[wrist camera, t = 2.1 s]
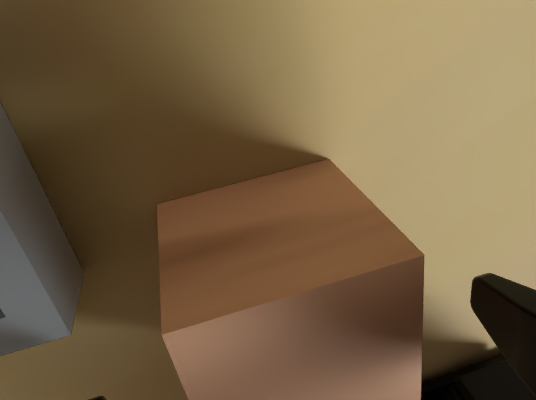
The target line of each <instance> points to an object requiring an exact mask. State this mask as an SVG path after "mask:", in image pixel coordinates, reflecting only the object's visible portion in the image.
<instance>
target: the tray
mask: <svg viewBox="0 0 536 400" xmlns="http://www.w3.org/2000/svg"><path fill="white" fill-rule="evenodd" d="M83 277H84V272H83V270H82V268H81V265H80V263H79V261H78V259H77V257H76V255H75V253H74V251H73V249H72V247H71V245H70V243H69V241H68V239H67V237H66V235H65V233H64V231H63V229H62V227H61V225H60V223H59V220H58V218H57V216H56V214H55V212H54V210H53V208H52V206H51V204H50V202H49V200H48V198H47V196H46V194H45V192H44V190H43V188H42V186H41V184H40V182H39V180H38V178H37V175H36V173H35V171H34V169H33V167H32V165H31V163H30V161H29V159H28V157H27V155H26V153H25V151H24V149H23V147H22V145H21V143H20V141H19V139H18V137H17V135H16V133H15V130H14V128H13V126H12V124H11V122H10V120H9V118H8V116H7V114H6V112H5V110H4V108H3V106H2V104H1V102H0V356H2V355H6V354H9V353H13V352H16V351H19V350H23V349H26V348H29V347H33V346H36V345H40V344H43V343H46V342H50V341H53V340H56V339H60V338H63V337H67V336H70V335H71V332H72V328H73V323H74V319H75V314H76V309H77V305H78V300H79V296H80V291H81V287H82V282H83Z"/></svg>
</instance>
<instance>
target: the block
mask: <svg viewBox="0 0 536 400" xmlns="http://www.w3.org/2000/svg"><path fill="white" fill-rule="evenodd" d="M157 221H158V250H159V279H160V307H161V335H162V337H163V340H164V342H165V345H166V347H167V350H168V352H169V354H170V357H171V359H172V362H173V364H174V367H175V369H176V371H177V374H178V376H179V379H180V381H181V384H182V386H183V388H184V391H185V393H186V396H187V398H188V400H421V371H422V329H423V287H424V254H423V253H422V252H421V251H420V250H419V249H418V248H417V247H416V246H415V245H414V244H413V243H412V242H411V241H410V240H409V239H408V238H407V237H406V236H405V235H404V234H403V233H402V232H401V231H400V230H399V229H398V228H397V227H396V226H395V225H394V224H393V223H392V222H391V221H390V220H389V219H388V218H387V217H386V216H385V215H384V214H383V213H382V212H381V211H380V210H379V209H378V208H377V207H376V206H375V205H374V204H373V203H372V202H371V201H370V200H369V199H368V198H367V197H366V196H365V195H364V194H363V193H362V192H361V191H360V190H359V189H358V188H357V187H356V186H355V185H354V184H353V183H352V182H351V181H350V180H349V179H348V178H347V177H346V176H345V175H344V174H343V173H342V172H341V171H340V170H339V169H338V168H337V167H336V165H335V164H334V163H333V162H332V161H331V160H330V159H326V160H323V161H319V162H315V163H311V164H307V165H304V166H300V167H296V168H292V169H289V170H285V171H281V172H277V173H273V174H270V175H266V176H262V177H258V178H254V179H251V180H247V181H243V182H239V183H235V184H232V185H228V186H224V187H220V188H216V189H213V190H209V191H205V192H201V193H197V194H194V195H190V196H186V197H182V198H178V199H175V200H171V201H167V202H163V203H159V204H157Z"/></svg>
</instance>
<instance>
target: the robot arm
mask: <svg viewBox="0 0 536 400" xmlns="http://www.w3.org/2000/svg"><path fill="white" fill-rule="evenodd" d="M470 303H471V307H472V309H473V311H474V313H475V314H476V316H477V317H478V319H479V320H480V322H481V323H482V325H483V326H484V328H485V329H486V331H487V332H488V334H489V335H490V337H491V338H492V340H493V341H494V343H495V344H496V346H497V347H498V349H499V350H500V352H501V353H502V356H500V357H497V358H494V359H491V360H488V361H485V362H482V363H479V364H477V365H474V366H471V367H468V368H465V369H462V370H459V371H457V372H454V373H451V374H448V375H445V376H442V377H439V378H436V379H434V380H431V381H428V382H425V383H422V384H421V400H536V290H534V289H532V288H529V287H526V286H524V285H521V284H518V283H516V282H513V281H511V280H508V279H505V278H503V277H500V276H497V275H495V274H492V273H486V274H483V275H480V276H477V277H475V278H474V279H473V280H472V289H471V299H470ZM88 400H107V399H106V398H105V397H104V396H98V397H95V398H92V399H88Z"/></svg>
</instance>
